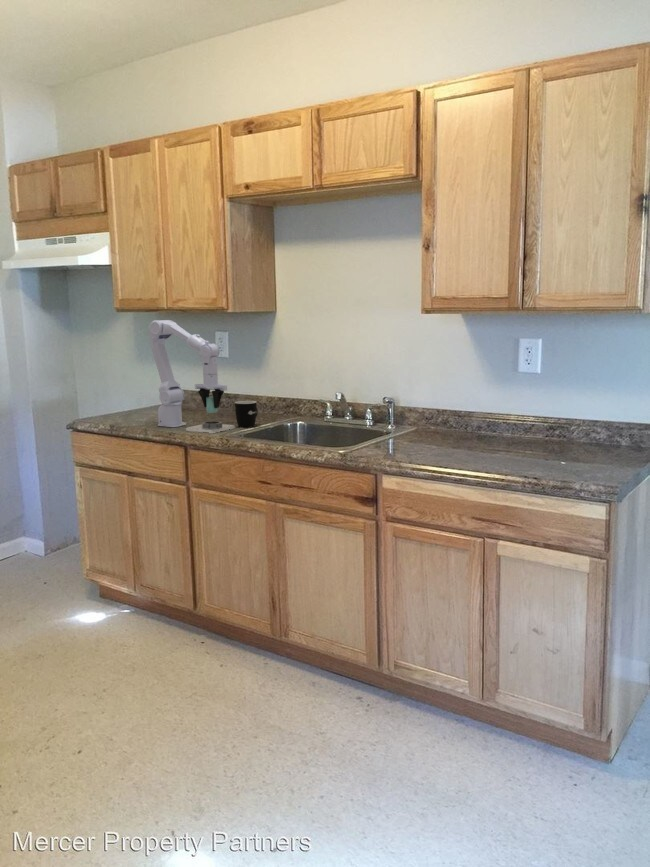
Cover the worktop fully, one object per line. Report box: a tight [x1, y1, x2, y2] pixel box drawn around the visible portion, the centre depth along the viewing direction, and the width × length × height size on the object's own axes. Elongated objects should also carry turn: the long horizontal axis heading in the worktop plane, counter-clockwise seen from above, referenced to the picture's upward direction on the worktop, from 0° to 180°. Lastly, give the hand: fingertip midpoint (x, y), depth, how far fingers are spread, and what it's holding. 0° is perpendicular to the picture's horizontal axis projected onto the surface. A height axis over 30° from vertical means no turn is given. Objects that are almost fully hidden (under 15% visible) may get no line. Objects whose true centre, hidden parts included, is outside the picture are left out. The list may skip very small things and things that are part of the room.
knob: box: [205, 395, 218, 414], centre depth 293 cm, size 4×4×6 cm
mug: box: [234, 400, 258, 428], centre depth 301 cm, size 12×9×10 cm
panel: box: [185, 420, 236, 434], centre depth 293 cm, size 14×14×3 cm
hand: (211, 407), depth 293 cm, fingers closed on knob, 4 cm apart
